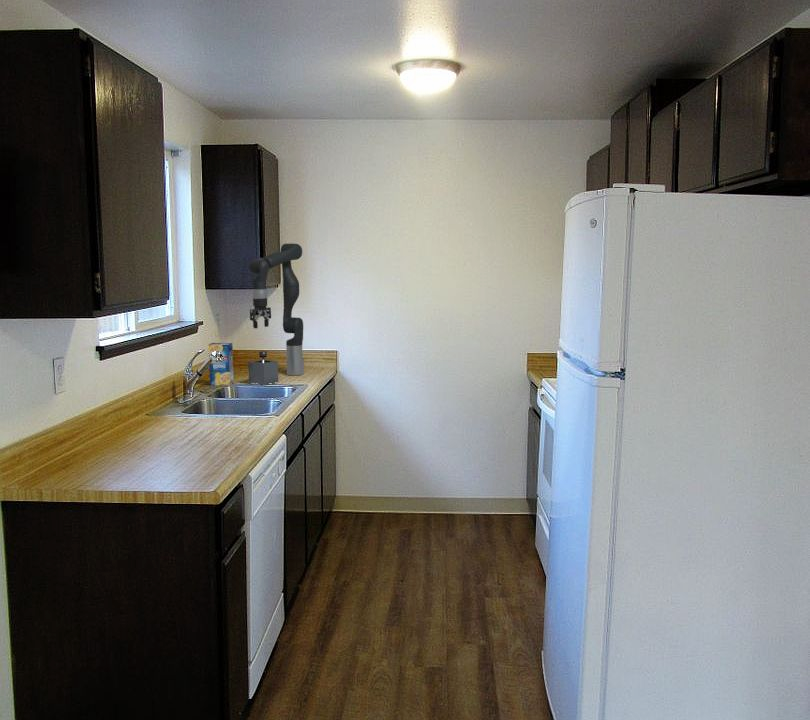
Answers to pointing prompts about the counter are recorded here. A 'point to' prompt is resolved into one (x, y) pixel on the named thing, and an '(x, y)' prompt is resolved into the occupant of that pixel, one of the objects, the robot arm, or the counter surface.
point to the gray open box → (263, 371)
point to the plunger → (262, 355)
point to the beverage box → (221, 364)
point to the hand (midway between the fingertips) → (261, 327)
